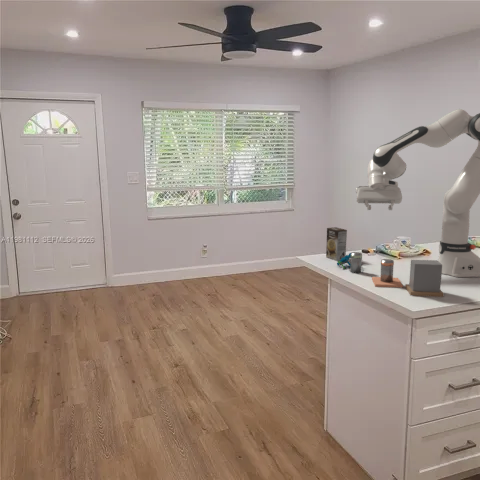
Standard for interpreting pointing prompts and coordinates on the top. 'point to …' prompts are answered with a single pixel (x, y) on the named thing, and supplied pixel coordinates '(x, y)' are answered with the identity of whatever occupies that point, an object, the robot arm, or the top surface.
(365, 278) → the top surface
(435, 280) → the block
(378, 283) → the mat
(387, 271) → the terracotta cartridge
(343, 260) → the blue toy figure
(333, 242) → the coffee box
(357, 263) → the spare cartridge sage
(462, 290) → the top surface
